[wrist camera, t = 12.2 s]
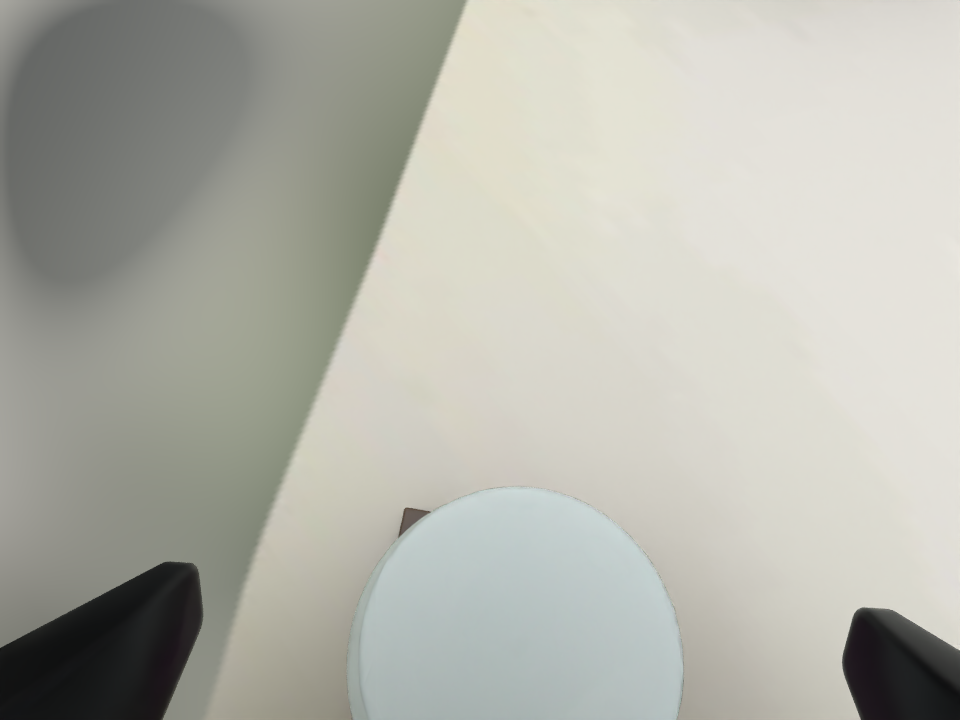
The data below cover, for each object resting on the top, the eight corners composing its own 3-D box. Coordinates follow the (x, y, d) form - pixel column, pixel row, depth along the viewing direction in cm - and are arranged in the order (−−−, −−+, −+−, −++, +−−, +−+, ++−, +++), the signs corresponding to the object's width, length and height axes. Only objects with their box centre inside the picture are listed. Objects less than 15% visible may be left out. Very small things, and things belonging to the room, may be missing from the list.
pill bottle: (460, 519, 18) (438, 368, 9) (641, 614, 17) (801, 541, 8) (356, 715, 16) (204, 751, 7) (553, 839, 15) (648, 1054, 6)
